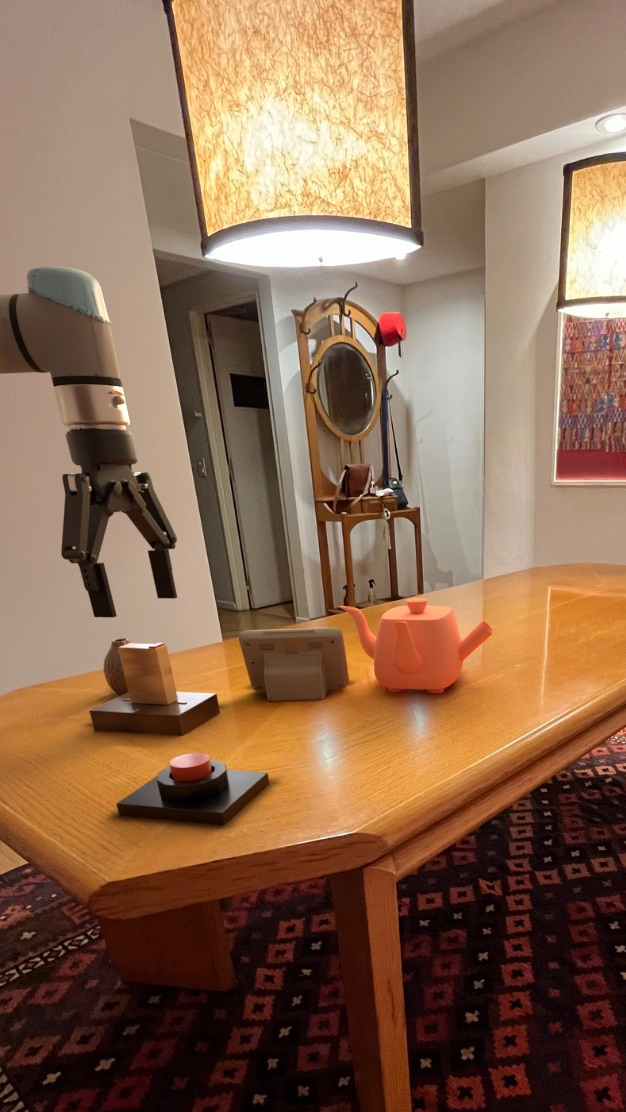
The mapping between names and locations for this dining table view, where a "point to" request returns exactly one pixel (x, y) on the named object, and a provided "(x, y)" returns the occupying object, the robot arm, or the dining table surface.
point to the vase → (115, 667)
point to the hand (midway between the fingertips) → (138, 607)
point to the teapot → (417, 645)
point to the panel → (155, 714)
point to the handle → (148, 673)
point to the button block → (195, 796)
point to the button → (190, 767)
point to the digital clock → (295, 662)
